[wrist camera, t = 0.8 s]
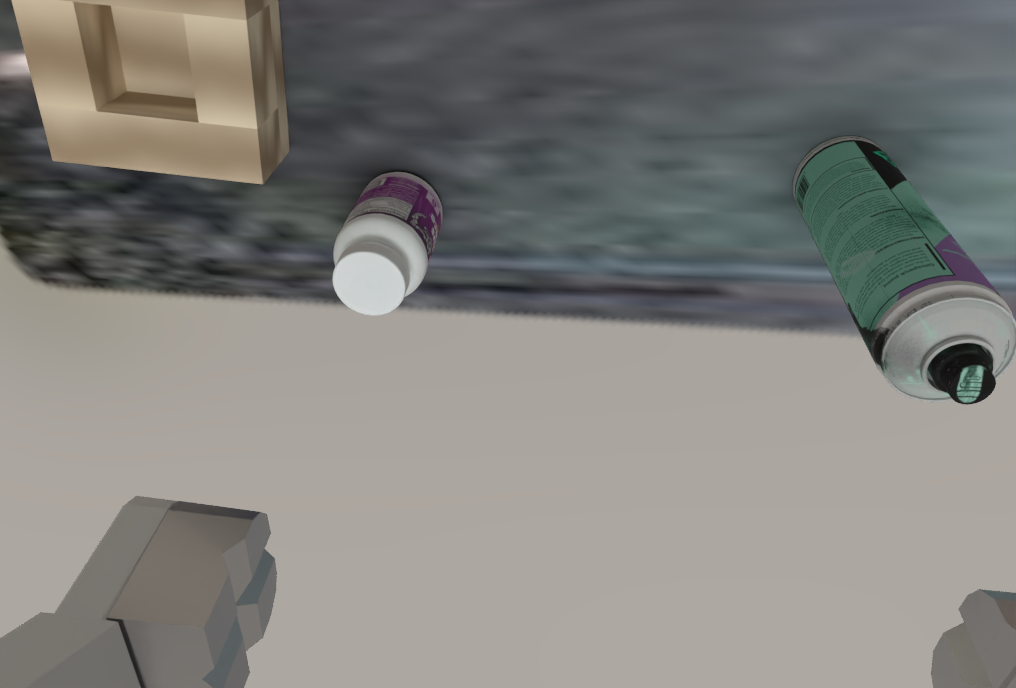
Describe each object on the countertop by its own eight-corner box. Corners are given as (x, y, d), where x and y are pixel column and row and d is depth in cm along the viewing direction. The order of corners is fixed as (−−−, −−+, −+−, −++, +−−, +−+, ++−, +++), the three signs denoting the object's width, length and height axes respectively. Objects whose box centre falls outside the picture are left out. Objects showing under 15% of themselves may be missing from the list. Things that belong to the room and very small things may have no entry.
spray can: (814, 237, 50) (924, 460, 33) (776, 166, 47) (876, 368, 31) (903, 193, 48) (1067, 407, 31) (869, 117, 45) (1027, 305, 29)
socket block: (49, -90, 43) (-9, -77, 38) (273, -67, 42) (239, -50, 38) (97, 129, 49) (52, 160, 45) (289, 151, 49) (262, 184, 45)
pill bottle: (446, 248, 52) (420, 330, 44) (365, 244, 53) (325, 325, 45) (443, 169, 49) (415, 243, 41) (357, 166, 49) (313, 238, 42)
